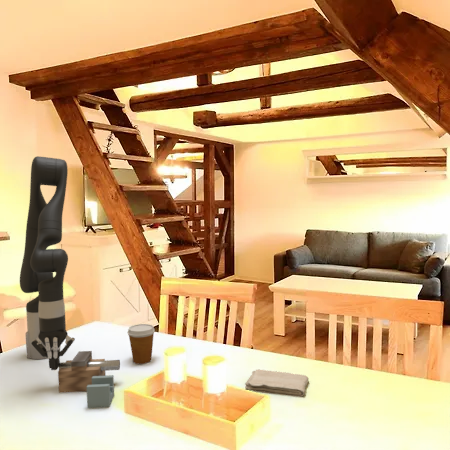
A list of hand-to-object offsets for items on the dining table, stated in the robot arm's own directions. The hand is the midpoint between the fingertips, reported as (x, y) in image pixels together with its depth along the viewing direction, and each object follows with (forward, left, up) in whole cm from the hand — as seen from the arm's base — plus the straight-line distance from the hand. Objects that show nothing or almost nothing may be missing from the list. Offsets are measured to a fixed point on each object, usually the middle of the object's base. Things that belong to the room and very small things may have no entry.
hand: (54, 369), depth 138 cm
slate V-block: (+16, -11, -6) cm, 21 cm away
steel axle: (+11, 0, -1) cm, 11 cm away
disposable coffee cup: (+24, +19, -6) cm, 31 cm away
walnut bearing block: (+8, 0, -6) cm, 10 cm away
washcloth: (+68, -6, -6) cm, 69 cm away
